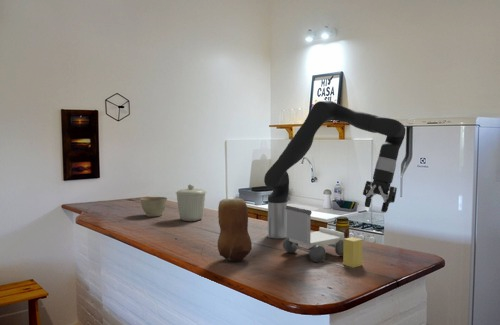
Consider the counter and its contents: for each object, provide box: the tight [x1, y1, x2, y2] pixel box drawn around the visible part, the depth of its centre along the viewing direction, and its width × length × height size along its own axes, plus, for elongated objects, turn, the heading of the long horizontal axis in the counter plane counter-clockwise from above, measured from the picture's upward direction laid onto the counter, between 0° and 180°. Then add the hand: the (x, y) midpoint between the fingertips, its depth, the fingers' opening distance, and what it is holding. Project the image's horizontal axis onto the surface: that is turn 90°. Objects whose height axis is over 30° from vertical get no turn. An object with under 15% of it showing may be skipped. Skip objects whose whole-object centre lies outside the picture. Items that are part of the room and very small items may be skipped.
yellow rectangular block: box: [342, 236, 363, 268], centre depth 166 cm, size 5×5×10 cm
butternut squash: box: [216, 198, 253, 263], centre depth 172 cm, size 14×13×25 cm
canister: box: [175, 183, 207, 222], centre depth 257 cm, size 18×18×21 cm
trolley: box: [282, 205, 344, 264], centre depth 180 cm, size 21×19×20 cm
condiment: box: [334, 216, 350, 245], centre depth 199 cm, size 7×8×12 cm
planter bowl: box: [140, 196, 168, 218], centre depth 271 cm, size 16×16×11 cm
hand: (375, 209), depth 172 cm, fingers open, 8 cm apart
